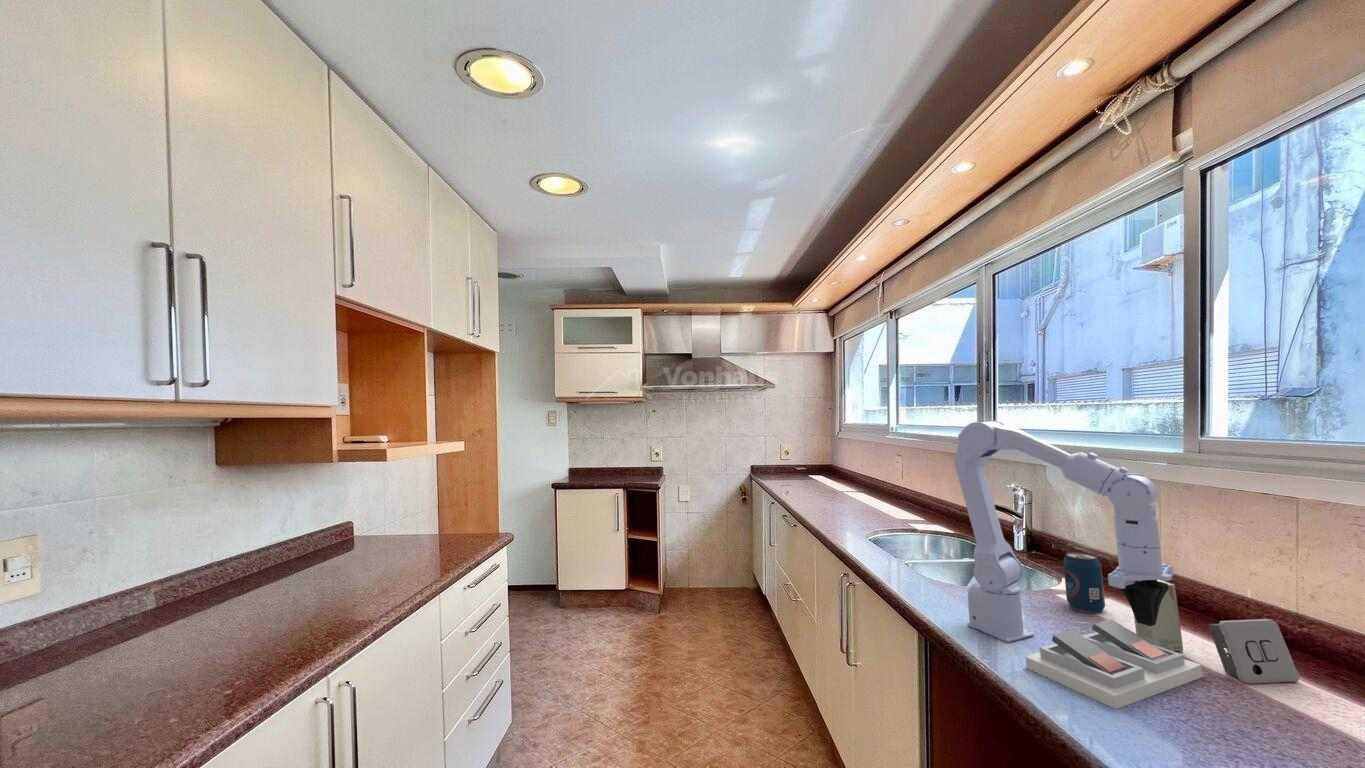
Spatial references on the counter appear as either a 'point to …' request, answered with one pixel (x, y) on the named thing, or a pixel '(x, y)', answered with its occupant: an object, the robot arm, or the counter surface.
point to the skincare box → (1164, 624)
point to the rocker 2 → (1128, 640)
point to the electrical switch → (1254, 651)
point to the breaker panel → (1120, 686)
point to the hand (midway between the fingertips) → (1146, 623)
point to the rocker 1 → (1088, 652)
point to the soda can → (1084, 582)
